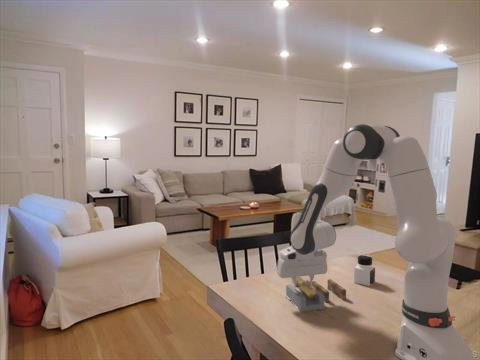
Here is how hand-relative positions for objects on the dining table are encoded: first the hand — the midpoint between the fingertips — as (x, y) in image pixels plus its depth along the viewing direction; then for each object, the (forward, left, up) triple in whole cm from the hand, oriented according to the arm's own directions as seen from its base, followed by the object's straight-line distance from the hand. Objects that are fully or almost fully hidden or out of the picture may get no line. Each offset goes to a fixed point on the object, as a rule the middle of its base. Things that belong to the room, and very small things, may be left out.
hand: (302, 286), depth 137 cm
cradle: (-2, 0, -6) cm, 6 cm away
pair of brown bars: (+2, -12, -6) cm, 14 cm away
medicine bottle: (+10, -35, -6) cm, 37 cm away
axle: (-2, 0, 0) cm, 2 cm away
